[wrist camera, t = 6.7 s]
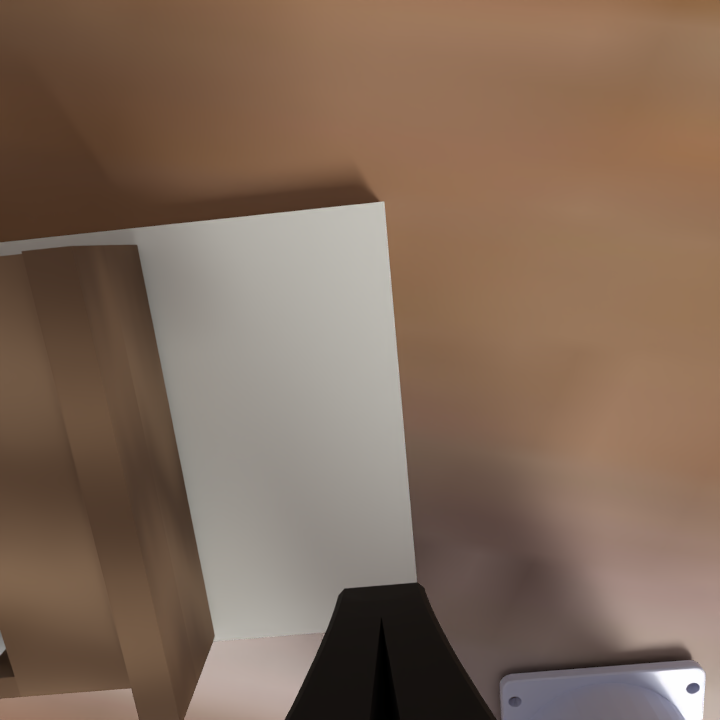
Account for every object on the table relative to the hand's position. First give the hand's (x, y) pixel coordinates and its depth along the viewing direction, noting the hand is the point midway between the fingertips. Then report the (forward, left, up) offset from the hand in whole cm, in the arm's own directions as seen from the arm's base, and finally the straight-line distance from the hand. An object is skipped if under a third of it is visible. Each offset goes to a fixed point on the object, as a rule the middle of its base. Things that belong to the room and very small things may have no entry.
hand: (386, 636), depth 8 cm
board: (0, +8, -10) cm, 13 cm away
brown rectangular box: (0, +11, -8) cm, 14 cm away
